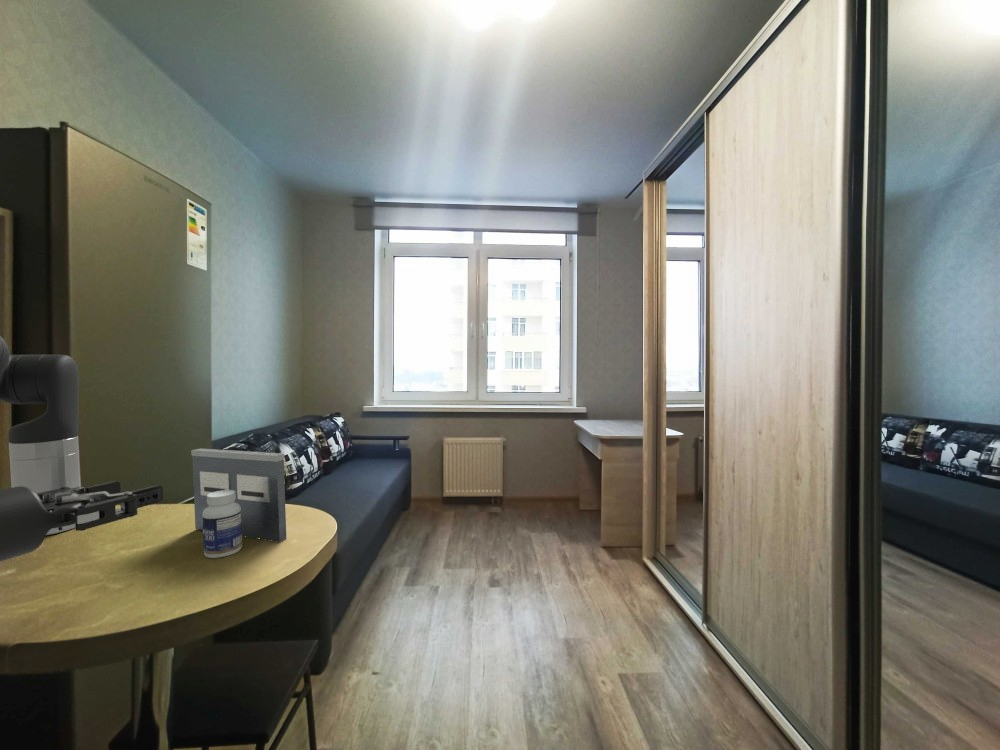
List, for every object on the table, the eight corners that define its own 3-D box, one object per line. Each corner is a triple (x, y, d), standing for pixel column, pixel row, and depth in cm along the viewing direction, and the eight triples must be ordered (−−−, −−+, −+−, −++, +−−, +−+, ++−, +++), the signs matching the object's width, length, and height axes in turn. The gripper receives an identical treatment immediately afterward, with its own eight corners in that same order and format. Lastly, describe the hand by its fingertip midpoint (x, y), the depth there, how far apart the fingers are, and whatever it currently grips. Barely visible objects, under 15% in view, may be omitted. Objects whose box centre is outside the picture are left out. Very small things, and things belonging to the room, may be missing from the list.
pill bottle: (199, 552, 74) (197, 493, 73) (236, 542, 78) (234, 486, 77) (209, 562, 70) (206, 500, 70) (247, 551, 74) (244, 492, 74)
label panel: (194, 530, 83) (190, 450, 83) (203, 526, 85) (200, 448, 85) (278, 542, 77) (275, 456, 76) (287, 538, 79) (284, 453, 78)
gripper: (7, 502, 44) (175, 465, 59) (-70, 492, 49) (104, 460, 64) (11, 578, 44) (177, 522, 59) (-66, 561, 49) (106, 513, 64)
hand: (139, 490), depth 62 cm, fingers open, 8 cm apart
